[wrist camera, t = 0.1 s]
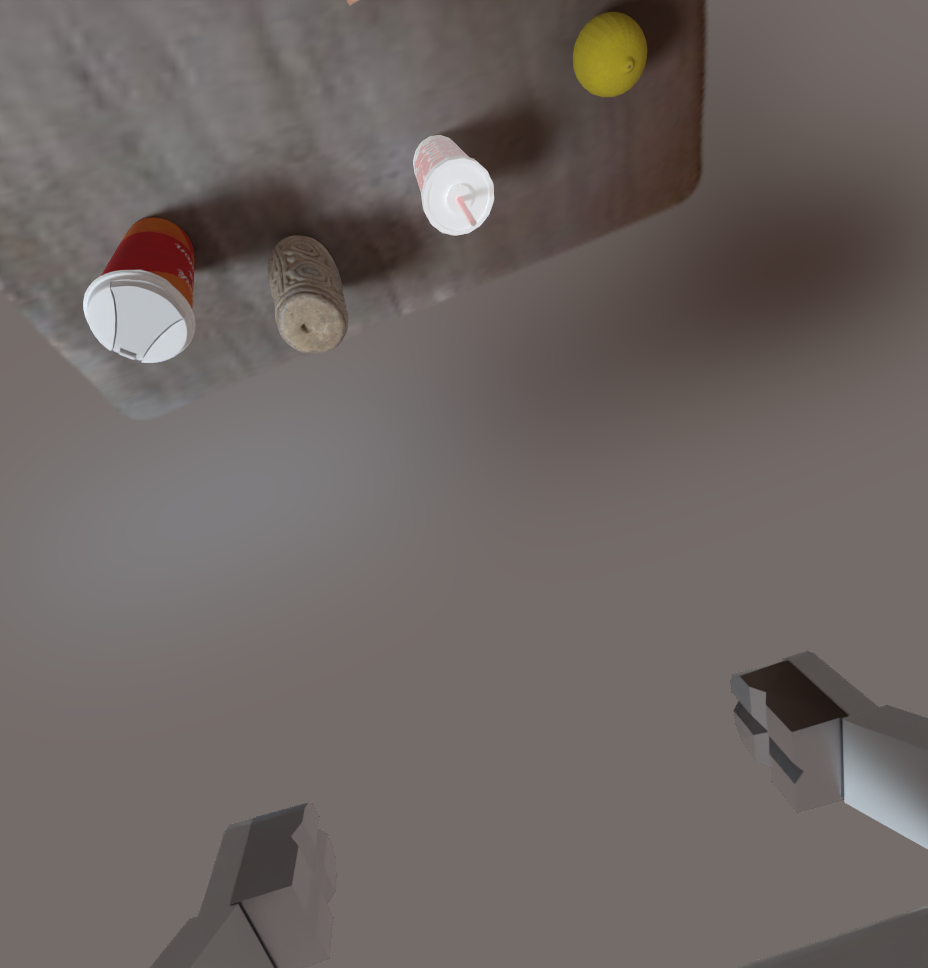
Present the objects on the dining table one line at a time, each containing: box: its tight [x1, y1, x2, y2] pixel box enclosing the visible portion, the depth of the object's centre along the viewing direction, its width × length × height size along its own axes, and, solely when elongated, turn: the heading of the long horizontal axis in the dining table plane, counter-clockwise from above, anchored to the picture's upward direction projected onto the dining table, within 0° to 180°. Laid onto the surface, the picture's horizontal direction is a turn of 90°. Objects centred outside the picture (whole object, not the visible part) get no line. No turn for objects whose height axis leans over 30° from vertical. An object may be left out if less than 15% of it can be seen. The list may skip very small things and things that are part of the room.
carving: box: [268, 235, 348, 353], centre depth 53 cm, size 6×8×12 cm
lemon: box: [573, 12, 647, 97], centre depth 47 cm, size 6×6×8 cm
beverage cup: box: [413, 135, 494, 236], centre depth 49 cm, size 6×6×14 cm
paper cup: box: [83, 217, 196, 363], centre depth 48 cm, size 8×8×14 cm
